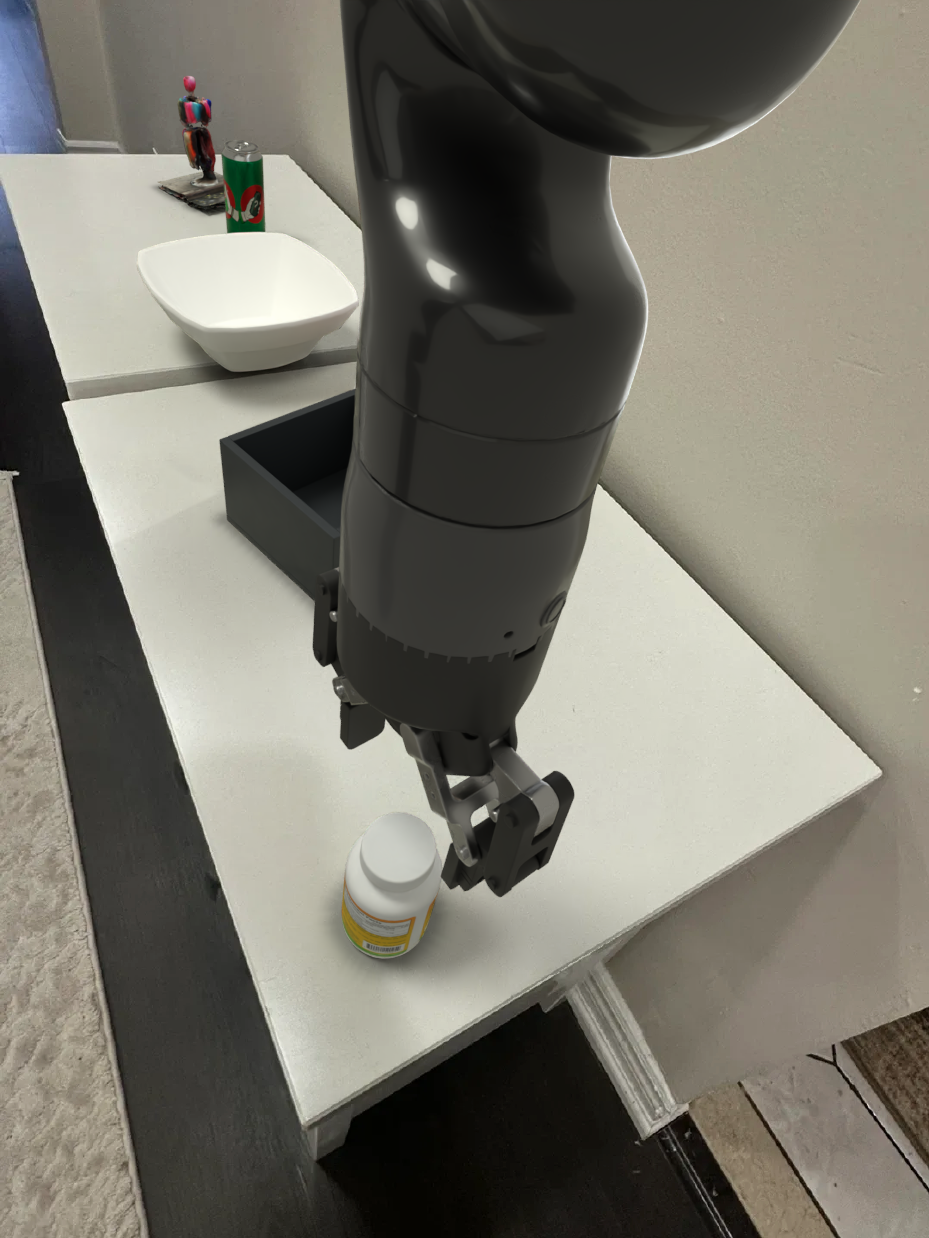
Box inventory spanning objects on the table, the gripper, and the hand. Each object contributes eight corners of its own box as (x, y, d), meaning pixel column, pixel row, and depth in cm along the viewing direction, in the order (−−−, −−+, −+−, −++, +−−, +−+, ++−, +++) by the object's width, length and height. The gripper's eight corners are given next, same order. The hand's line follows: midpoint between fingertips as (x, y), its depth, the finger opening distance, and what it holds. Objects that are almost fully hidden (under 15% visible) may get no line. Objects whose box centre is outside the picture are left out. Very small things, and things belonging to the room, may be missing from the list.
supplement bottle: (394, 856, 50) (409, 781, 43) (445, 924, 47) (470, 856, 40) (323, 905, 47) (327, 833, 40) (374, 979, 45) (387, 917, 38)
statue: (160, 197, 113) (134, 74, 103) (212, 184, 119) (193, 66, 108) (206, 215, 108) (184, 88, 98) (258, 201, 114) (243, 79, 103)
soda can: (270, 240, 107) (267, 144, 98) (259, 254, 103) (254, 156, 94) (235, 232, 107) (228, 135, 98) (222, 246, 103) (214, 147, 94)
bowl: (203, 419, 77) (194, 340, 71) (126, 322, 87) (113, 245, 81) (377, 378, 87) (383, 305, 81) (291, 294, 97) (290, 224, 91)
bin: (331, 616, 63) (334, 539, 56) (226, 519, 68) (218, 439, 62) (455, 544, 71) (470, 469, 64) (353, 463, 76) (357, 387, 70)
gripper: (246, 471, 26) (267, 731, 38) (506, 780, 20) (433, 977, 32) (423, 417, 30) (392, 669, 42) (692, 662, 23) (564, 879, 35)
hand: (410, 802), depth 37 cm, fingers open, 8 cm apart
